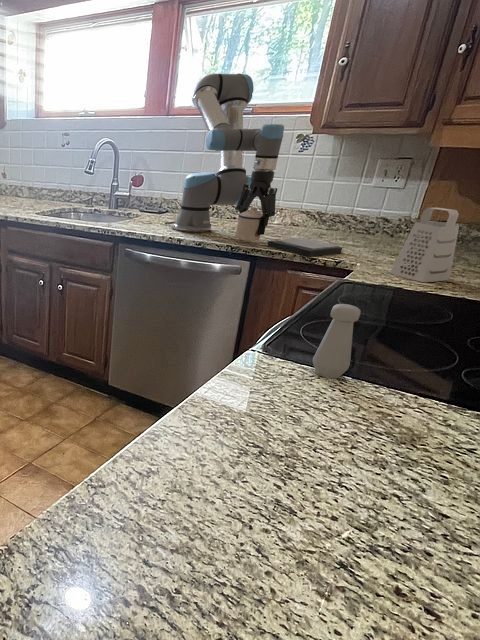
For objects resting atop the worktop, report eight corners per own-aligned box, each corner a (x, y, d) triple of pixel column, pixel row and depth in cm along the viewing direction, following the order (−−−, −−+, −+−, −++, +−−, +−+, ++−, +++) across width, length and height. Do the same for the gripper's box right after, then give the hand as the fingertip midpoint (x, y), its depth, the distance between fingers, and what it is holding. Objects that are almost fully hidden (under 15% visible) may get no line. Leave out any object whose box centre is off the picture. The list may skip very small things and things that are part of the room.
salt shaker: (333, 367, 98) (353, 300, 93) (353, 380, 93) (375, 311, 88) (303, 367, 98) (321, 300, 93) (321, 380, 93) (341, 311, 87)
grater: (422, 282, 153) (447, 212, 145) (389, 273, 162) (410, 207, 154) (449, 280, 156) (474, 211, 148) (414, 271, 165) (437, 206, 157)
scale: (267, 246, 197) (268, 239, 196) (297, 243, 203) (299, 236, 202) (308, 256, 182) (310, 249, 181) (340, 253, 188) (342, 246, 187)
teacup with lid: (259, 242, 197) (266, 210, 192) (233, 239, 200) (239, 208, 195) (260, 236, 206) (267, 205, 201) (236, 233, 210) (242, 203, 205)
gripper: (233, 167, 200) (222, 227, 209) (280, 173, 181) (265, 238, 191) (248, 167, 202) (236, 226, 212) (296, 173, 184) (280, 237, 194)
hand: (250, 232), depth 201 cm, fingers closed on teacup with lid, 9 cm apart
